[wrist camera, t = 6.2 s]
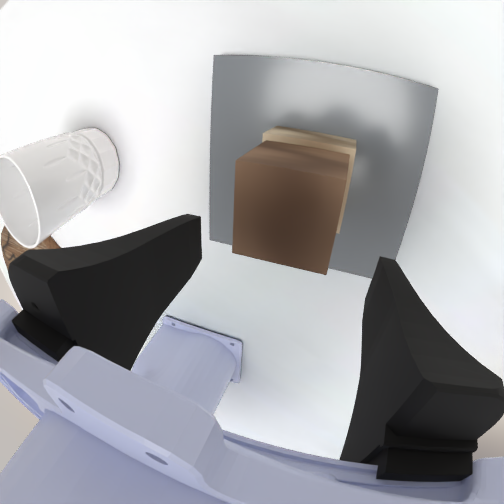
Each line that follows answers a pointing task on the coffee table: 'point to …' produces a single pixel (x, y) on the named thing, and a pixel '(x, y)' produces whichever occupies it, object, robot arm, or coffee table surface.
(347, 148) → the oak block
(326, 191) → the walnut block
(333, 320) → the coffee table surface
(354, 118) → the base slab
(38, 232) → the white cup
